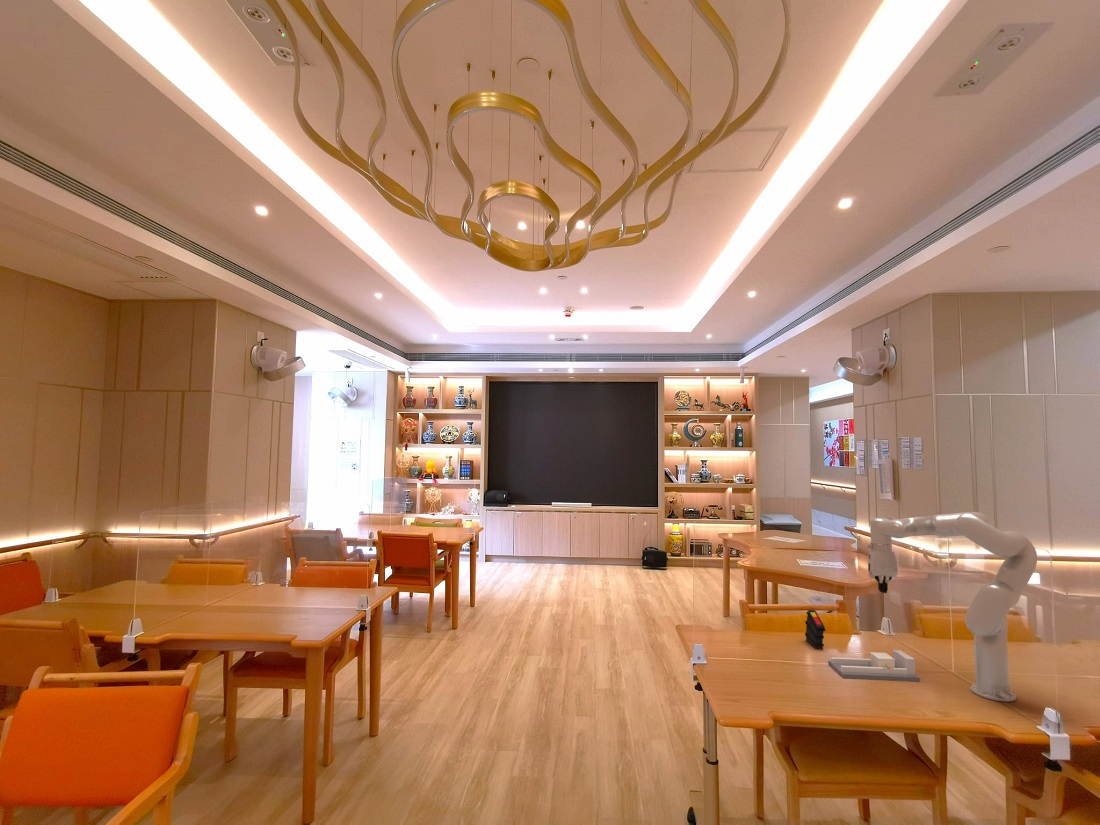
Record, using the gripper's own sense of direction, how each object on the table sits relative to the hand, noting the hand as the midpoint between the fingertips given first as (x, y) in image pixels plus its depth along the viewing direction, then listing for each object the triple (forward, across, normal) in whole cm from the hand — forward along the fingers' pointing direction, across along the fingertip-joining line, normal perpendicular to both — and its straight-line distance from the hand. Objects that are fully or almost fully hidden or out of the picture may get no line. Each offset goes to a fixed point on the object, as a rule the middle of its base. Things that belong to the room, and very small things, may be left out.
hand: (883, 592), depth 227 cm
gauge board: (+29, -10, -10) cm, 32 cm away
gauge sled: (+27, -6, -10) cm, 30 cm away
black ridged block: (+29, -21, +19) cm, 41 cm away
